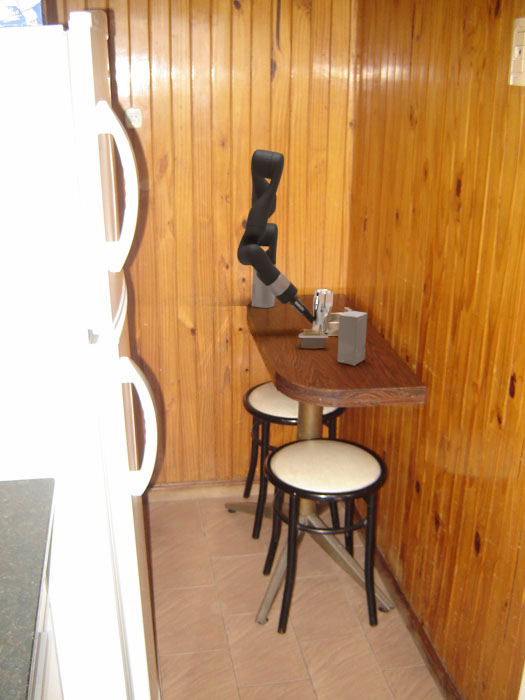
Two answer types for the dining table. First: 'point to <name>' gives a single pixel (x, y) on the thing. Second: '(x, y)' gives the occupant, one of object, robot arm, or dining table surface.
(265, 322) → the dining table surface
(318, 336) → the platform
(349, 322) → the skincare box
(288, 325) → the dining table surface
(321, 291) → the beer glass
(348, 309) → the bracket
